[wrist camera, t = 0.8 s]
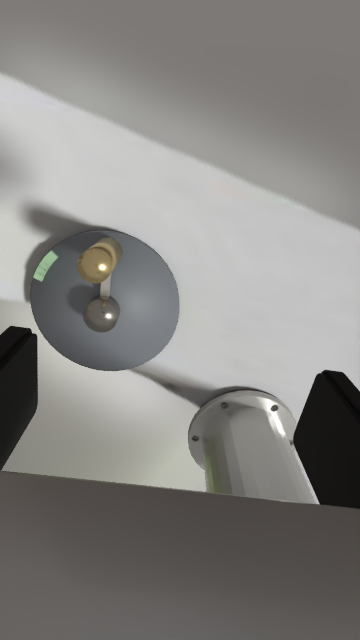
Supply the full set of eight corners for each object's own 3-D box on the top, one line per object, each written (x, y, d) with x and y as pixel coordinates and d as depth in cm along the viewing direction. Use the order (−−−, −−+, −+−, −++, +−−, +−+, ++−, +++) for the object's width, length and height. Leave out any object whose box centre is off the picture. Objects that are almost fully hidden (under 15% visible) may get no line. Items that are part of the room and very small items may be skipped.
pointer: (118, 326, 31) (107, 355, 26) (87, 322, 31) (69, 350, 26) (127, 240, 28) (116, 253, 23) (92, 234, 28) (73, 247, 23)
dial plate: (202, 332, 34) (203, 339, 32) (85, 383, 36) (81, 392, 35) (135, 202, 29) (133, 203, 27) (5, 271, 31) (-3, 275, 30)
